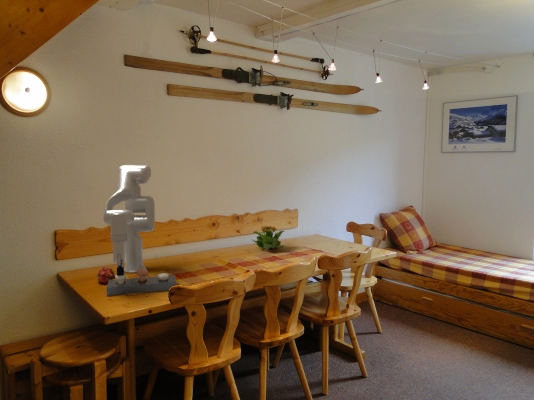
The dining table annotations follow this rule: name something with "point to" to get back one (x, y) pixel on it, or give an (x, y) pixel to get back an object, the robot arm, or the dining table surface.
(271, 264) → the dining table surface
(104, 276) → the dragon fruit
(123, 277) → the knob
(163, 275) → the knob
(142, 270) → the dial
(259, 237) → the potted flower
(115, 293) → the knob mount
